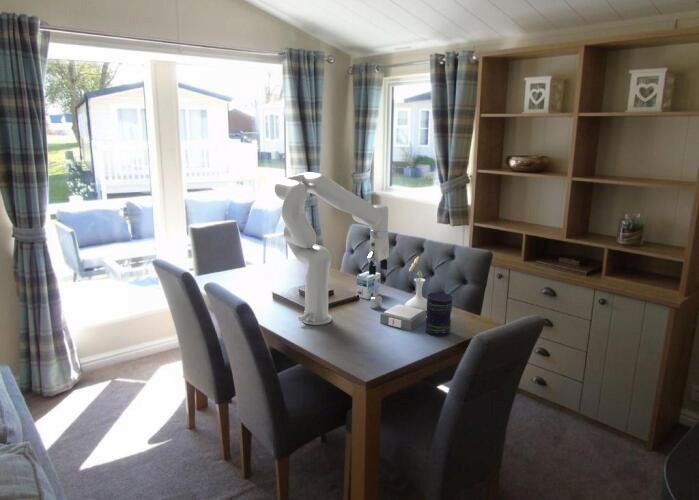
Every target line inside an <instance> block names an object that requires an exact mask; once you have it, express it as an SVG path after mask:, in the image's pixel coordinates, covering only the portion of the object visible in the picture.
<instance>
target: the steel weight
mask: <svg viewBox="0 0 699 500" xmlns="http://www.w3.org/2000/svg"><path fill="white" fill-rule="evenodd" d="M369 304H370V306H369V307H370V309H371V310H374V311H379V310H381V309H382V305H383V297H382V296H381V295H377V296H371V298H370V303H369Z"/></svg>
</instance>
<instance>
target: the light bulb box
mask: <svg viewBox="0 0 699 500" xmlns="http://www.w3.org/2000/svg"><path fill="white" fill-rule="evenodd" d="M356 276H357V277H356V296H357V295H359V297H358V298H361V299H366V300H369V299H371V296H381V295H380V294H381V291H380V290H381V272H377V271H376V275H372V274H369V270H367V271H365V272H362V273H358V274H357V275H356Z"/></svg>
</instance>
